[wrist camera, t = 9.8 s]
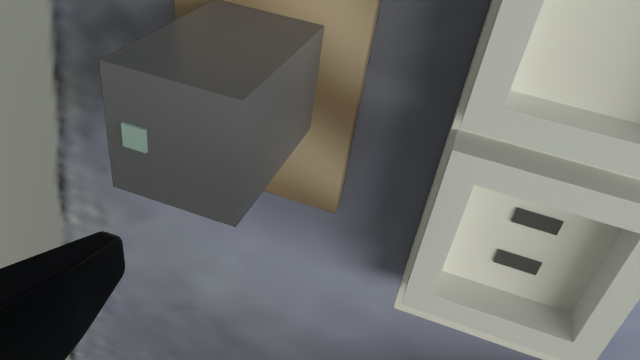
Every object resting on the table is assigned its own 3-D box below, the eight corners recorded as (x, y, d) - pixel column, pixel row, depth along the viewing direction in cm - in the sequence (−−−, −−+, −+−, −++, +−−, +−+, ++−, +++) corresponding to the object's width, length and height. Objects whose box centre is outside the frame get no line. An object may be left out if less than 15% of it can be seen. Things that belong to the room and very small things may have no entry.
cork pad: (338, 206, 25) (335, 213, 24) (183, 156, 26) (177, 162, 26) (396, -77, 18) (392, -74, 17) (181, -122, 19) (172, -121, 19)
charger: (310, 128, 22) (234, 229, 17) (214, 101, 23) (111, 187, 17) (324, 25, 20) (241, 102, 14) (216, -1, 21) (96, 60, 15)
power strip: (568, 325, 24) (574, 400, 21) (404, 270, 25) (386, 333, 22) (883, -182, 13) (997, -188, 10) (565, -230, 14) (575, -248, 11)
